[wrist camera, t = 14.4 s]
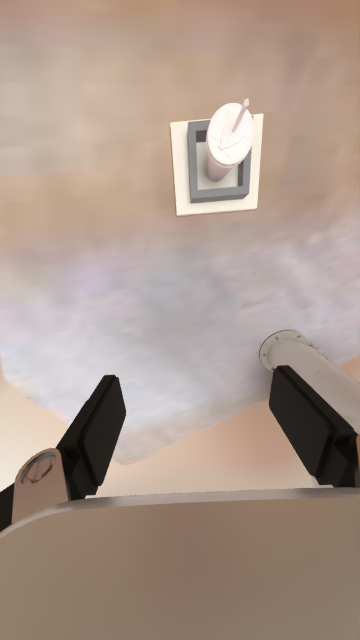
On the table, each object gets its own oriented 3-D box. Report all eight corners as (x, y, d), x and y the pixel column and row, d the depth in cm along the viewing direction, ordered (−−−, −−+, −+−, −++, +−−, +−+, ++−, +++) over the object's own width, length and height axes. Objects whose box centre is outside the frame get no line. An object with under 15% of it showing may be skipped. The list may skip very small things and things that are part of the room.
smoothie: (240, 168, 32) (284, 104, 19) (215, 198, 33) (239, 160, 20) (216, 138, 30) (245, 46, 17) (191, 171, 32) (201, 111, 19)
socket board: (260, 118, 30) (272, 98, 26) (254, 209, 35) (263, 203, 31) (170, 126, 30) (169, 108, 27) (177, 216, 35) (176, 211, 31)
